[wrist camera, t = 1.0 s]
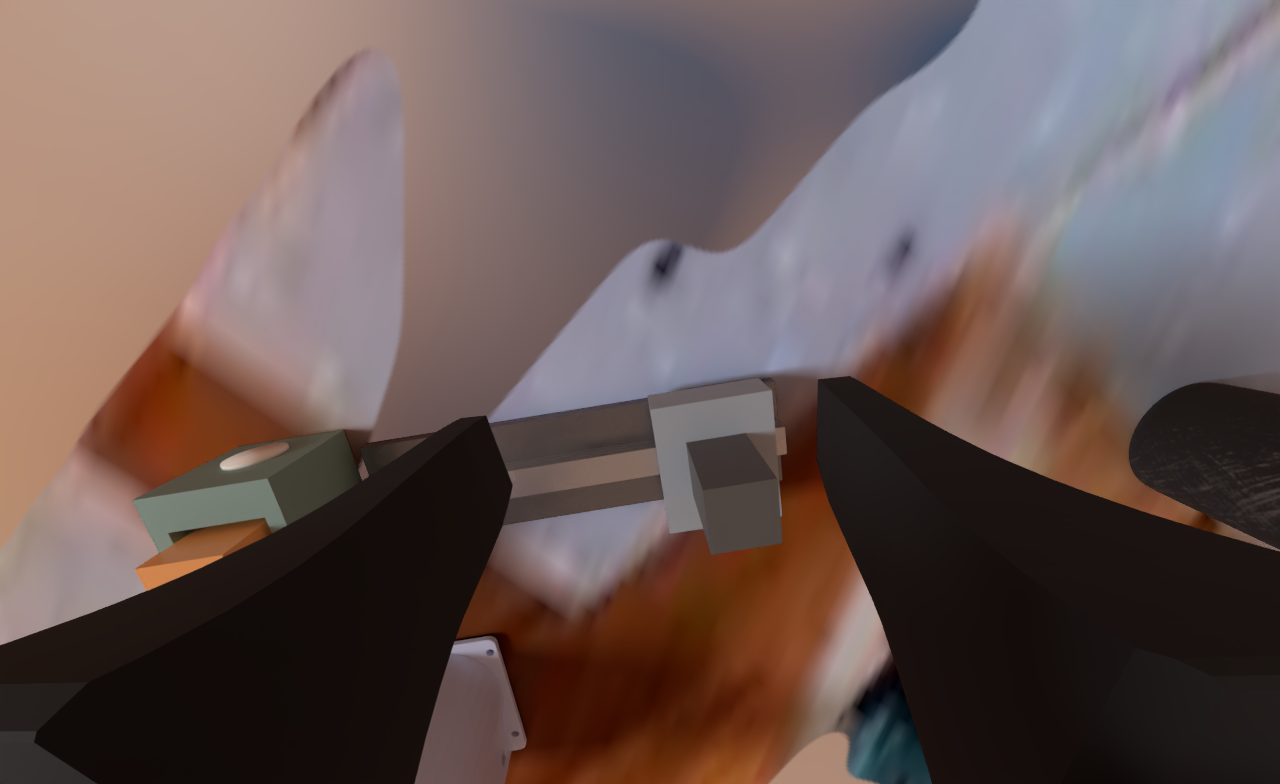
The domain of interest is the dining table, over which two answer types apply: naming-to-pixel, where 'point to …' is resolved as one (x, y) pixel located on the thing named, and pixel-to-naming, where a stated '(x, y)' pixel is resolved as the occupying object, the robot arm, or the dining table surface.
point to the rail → (572, 458)
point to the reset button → (200, 550)
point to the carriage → (720, 463)
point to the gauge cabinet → (252, 487)
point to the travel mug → (1215, 454)
